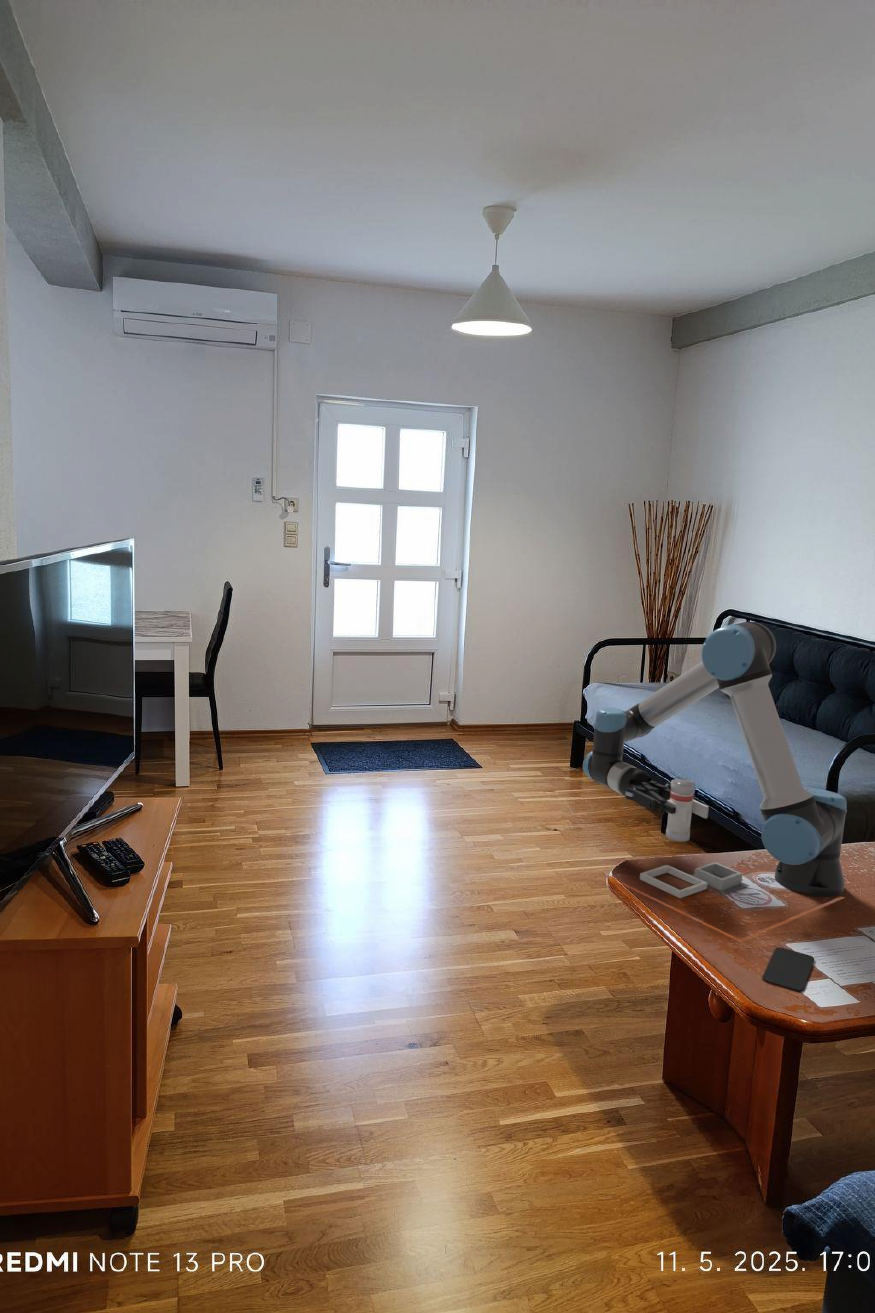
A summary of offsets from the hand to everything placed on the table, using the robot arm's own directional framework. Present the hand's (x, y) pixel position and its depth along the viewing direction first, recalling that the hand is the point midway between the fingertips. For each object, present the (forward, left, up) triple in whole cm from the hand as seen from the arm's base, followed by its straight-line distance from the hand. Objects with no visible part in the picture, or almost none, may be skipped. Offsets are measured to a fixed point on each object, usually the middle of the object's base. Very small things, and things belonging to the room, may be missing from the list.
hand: (697, 813), depth 200 cm
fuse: (+5, -1, -7) cm, 9 cm away
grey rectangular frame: (+5, -1, -19) cm, 20 cm away
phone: (-31, +10, -20) cm, 39 cm away
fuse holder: (+1, -11, -19) cm, 22 cm away
